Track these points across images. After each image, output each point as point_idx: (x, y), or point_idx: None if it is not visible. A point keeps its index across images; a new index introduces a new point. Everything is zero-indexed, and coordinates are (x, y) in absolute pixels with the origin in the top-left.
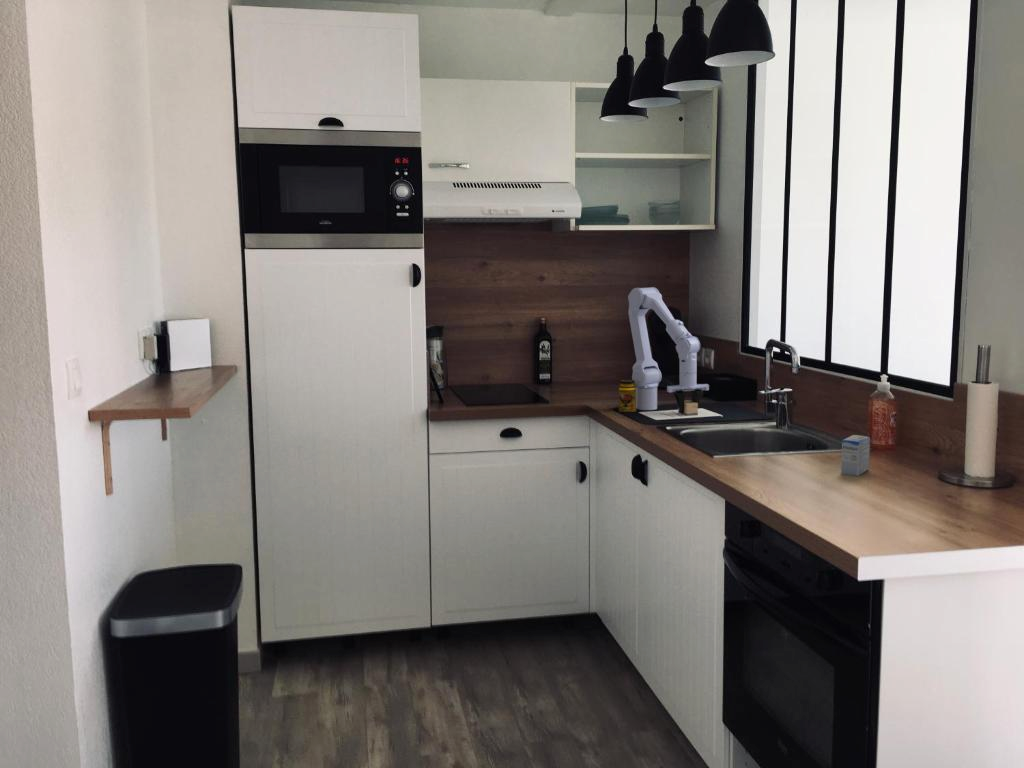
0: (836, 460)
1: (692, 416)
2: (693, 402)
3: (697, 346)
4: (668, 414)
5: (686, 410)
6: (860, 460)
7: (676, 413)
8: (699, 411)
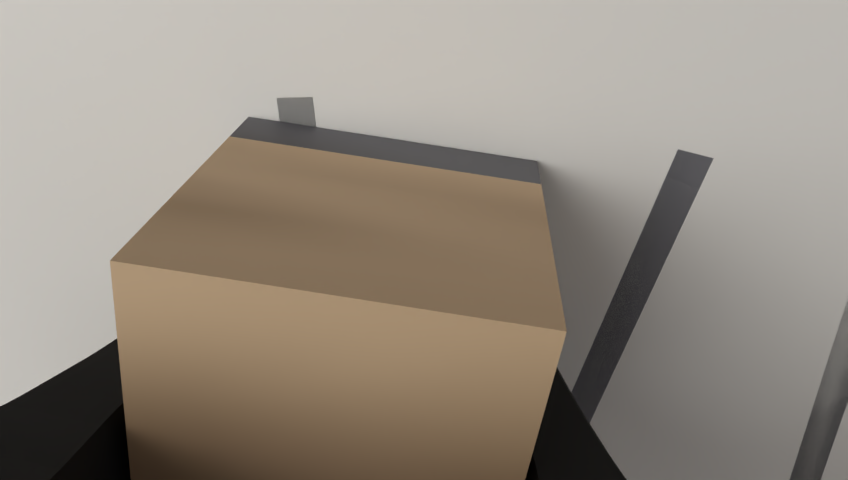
0: None
1: (465, 13)
2: (174, 467)
3: None
4: (747, 461)
5: (543, 234)
6: None
7: None
8: None
